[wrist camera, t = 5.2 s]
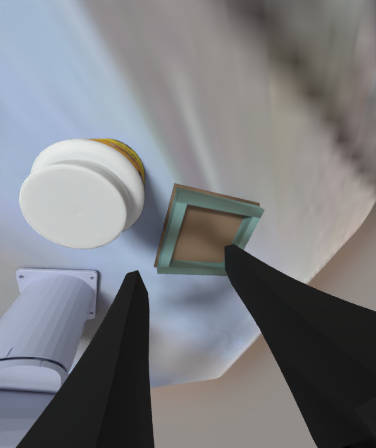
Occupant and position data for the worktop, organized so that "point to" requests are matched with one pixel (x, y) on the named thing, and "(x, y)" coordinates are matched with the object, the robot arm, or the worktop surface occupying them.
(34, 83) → the worktop surface
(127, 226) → the supplement bottle
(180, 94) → the worktop surface
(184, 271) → the teal picture frame
